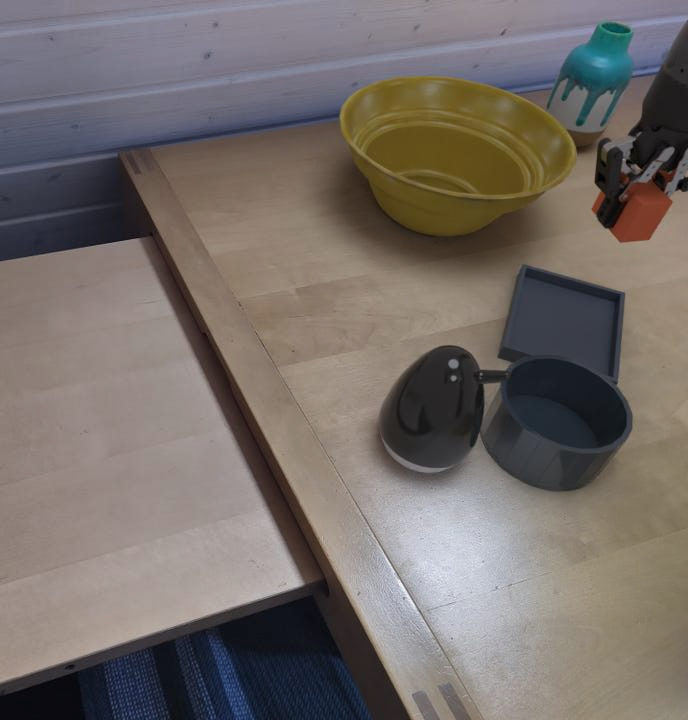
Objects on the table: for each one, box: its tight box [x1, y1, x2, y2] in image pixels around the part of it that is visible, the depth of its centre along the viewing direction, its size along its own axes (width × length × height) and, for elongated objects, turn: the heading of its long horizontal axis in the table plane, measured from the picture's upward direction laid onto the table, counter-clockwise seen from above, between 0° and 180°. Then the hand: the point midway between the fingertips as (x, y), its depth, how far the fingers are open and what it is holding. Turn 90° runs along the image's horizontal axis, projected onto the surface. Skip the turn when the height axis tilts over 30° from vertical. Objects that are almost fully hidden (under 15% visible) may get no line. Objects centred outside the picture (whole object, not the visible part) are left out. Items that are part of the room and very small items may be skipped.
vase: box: [544, 19, 635, 148], centre depth 116 cm, size 11×11×19 cm
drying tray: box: [497, 263, 626, 386], centre depth 91 cm, size 17×13×2 cm
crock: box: [480, 355, 634, 492], centre depth 77 cm, size 13×13×7 cm
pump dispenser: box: [377, 344, 510, 474], centre depth 73 cm, size 10×10×15 cm
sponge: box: [590, 168, 674, 244], centre depth 76 cm, size 4×6×5 cm, turn 10°
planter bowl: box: [338, 75, 578, 237], centre depth 103 cm, size 32×32×13 cm
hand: (621, 222), depth 78 cm, fingers closed on sponge, 3 cm apart
